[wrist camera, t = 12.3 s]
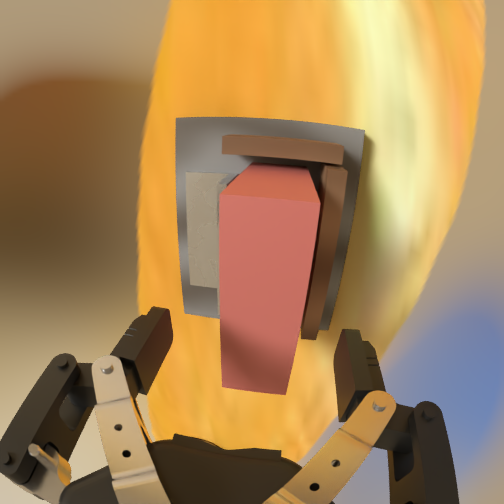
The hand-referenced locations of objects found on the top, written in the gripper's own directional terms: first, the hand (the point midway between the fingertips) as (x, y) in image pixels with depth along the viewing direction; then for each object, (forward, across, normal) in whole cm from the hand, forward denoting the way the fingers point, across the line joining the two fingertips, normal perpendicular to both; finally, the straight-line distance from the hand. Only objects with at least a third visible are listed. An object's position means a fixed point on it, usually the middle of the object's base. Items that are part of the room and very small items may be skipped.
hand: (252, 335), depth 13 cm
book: (+11, 0, 0) cm, 11 cm away
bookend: (+11, +5, 0) cm, 12 cm away
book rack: (+13, 0, 0) cm, 13 cm away
